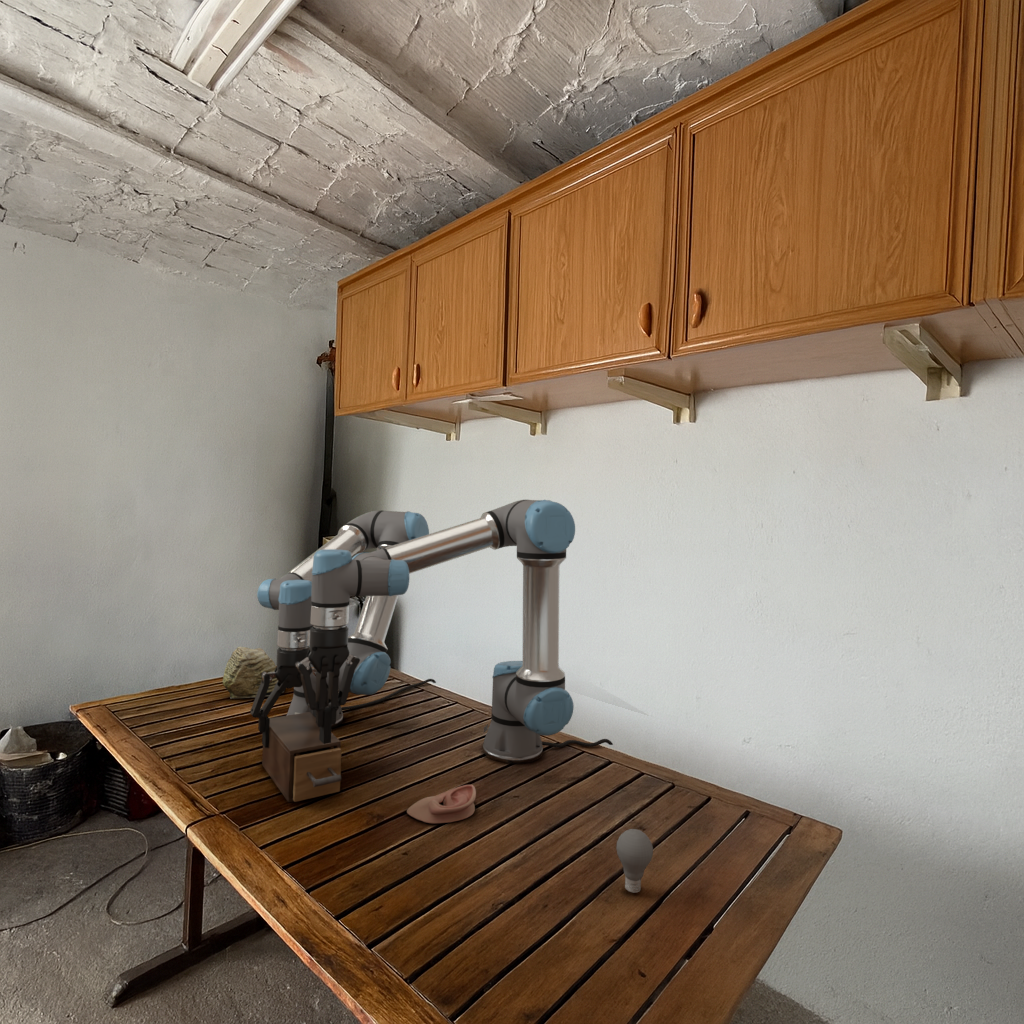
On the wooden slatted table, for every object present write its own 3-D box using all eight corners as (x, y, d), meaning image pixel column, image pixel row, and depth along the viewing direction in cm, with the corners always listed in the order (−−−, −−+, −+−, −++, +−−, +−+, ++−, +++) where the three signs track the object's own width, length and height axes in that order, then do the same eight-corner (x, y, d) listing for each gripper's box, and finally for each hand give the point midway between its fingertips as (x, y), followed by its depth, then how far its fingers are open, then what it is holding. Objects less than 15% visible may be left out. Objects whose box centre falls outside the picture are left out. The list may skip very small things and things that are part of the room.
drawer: (349, 802, 130) (351, 759, 130) (303, 814, 124) (305, 769, 124) (309, 757, 151) (311, 720, 151) (268, 766, 145) (270, 727, 145)
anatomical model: (401, 799, 125) (421, 775, 137) (400, 819, 126) (420, 793, 137) (466, 808, 123) (481, 783, 134) (465, 829, 123) (480, 802, 134)
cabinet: (338, 790, 137) (340, 741, 137) (288, 802, 131) (290, 750, 130) (308, 756, 154) (309, 711, 154) (262, 765, 148) (263, 719, 148)
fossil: (218, 695, 195) (220, 647, 195) (278, 685, 208) (279, 640, 207) (228, 703, 189) (230, 653, 188) (289, 692, 201) (290, 645, 201)
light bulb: (610, 879, 108) (613, 822, 108) (644, 879, 109) (647, 822, 109) (619, 902, 102) (622, 840, 102) (655, 901, 103) (658, 840, 103)
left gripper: (245, 656, 138) (241, 756, 138) (348, 645, 151) (344, 737, 152) (237, 648, 144) (234, 744, 144) (337, 639, 157) (333, 727, 158)
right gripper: (303, 632, 122) (298, 753, 122) (367, 626, 129) (362, 741, 130) (291, 624, 128) (287, 740, 128) (353, 620, 135) (349, 729, 136)
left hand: (290, 740), depth 148 cm, fingers closed on cabinet, 11 cm apart
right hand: (325, 740), depth 129 cm, fingers closed
